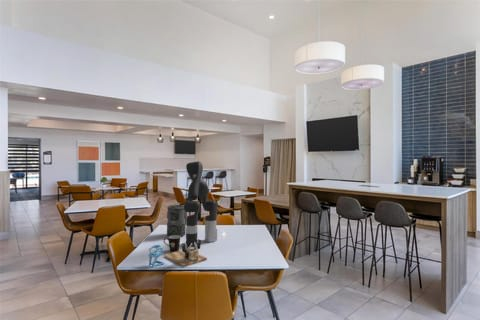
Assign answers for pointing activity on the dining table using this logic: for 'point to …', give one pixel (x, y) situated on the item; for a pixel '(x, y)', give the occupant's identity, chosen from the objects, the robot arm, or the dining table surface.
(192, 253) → the sanding block
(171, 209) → the canister
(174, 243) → the coffee mug
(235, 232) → the dining table surface
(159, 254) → the chair
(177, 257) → the board
